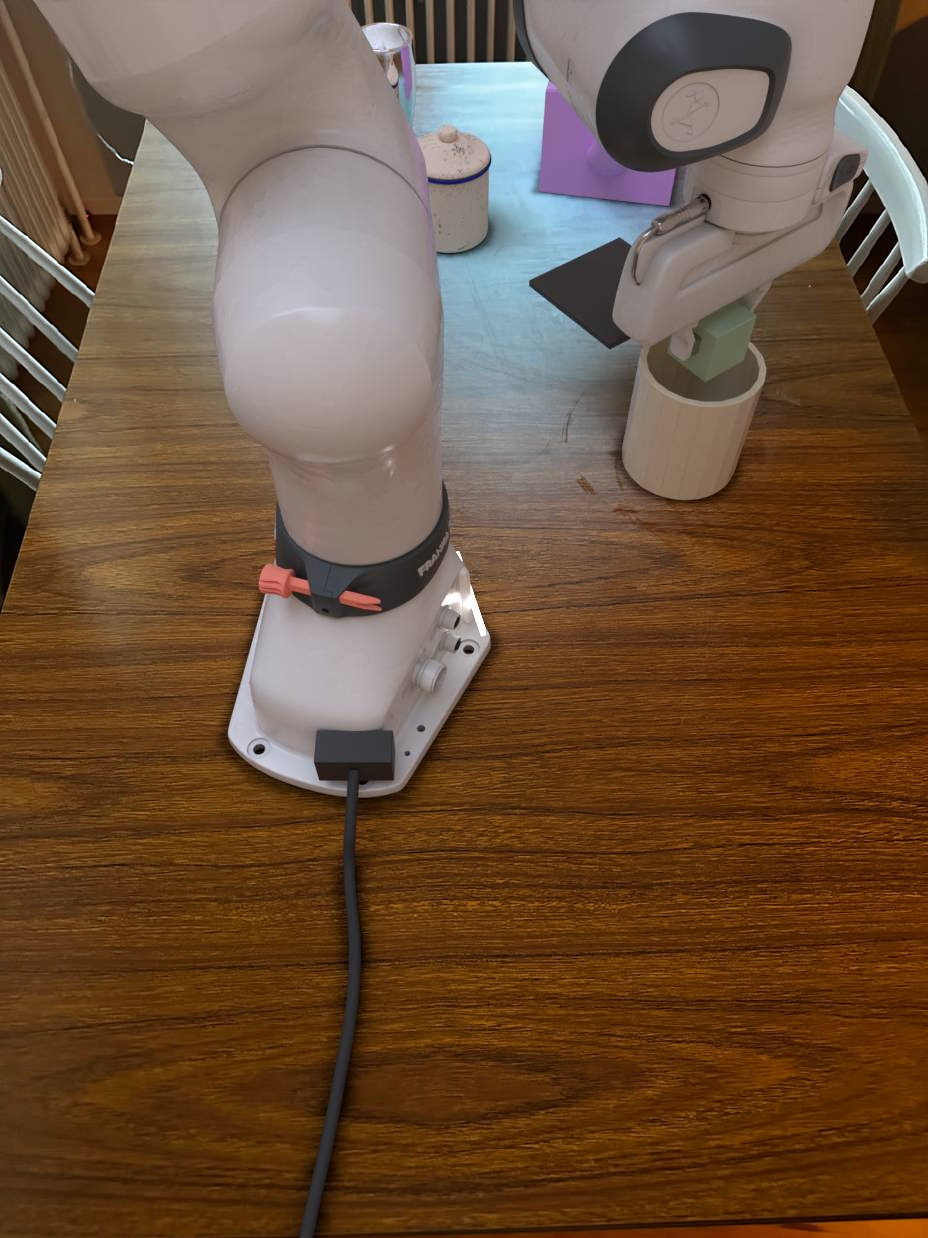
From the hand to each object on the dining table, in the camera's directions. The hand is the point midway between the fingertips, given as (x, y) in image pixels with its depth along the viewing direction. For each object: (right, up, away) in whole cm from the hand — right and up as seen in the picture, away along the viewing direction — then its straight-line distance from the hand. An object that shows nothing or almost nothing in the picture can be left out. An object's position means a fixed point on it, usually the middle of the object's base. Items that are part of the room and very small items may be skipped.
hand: (709, 338), depth 76 cm
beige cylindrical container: (0, -8, +11) cm, 13 cm away
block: (0, -1, +1) cm, 2 cm away
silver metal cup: (-28, +31, +38) cm, 57 cm away
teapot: (-2, +31, +38) cm, 49 cm away
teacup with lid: (-23, +21, +31) cm, 44 cm away
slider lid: (-7, +6, +7) cm, 11 cm away
